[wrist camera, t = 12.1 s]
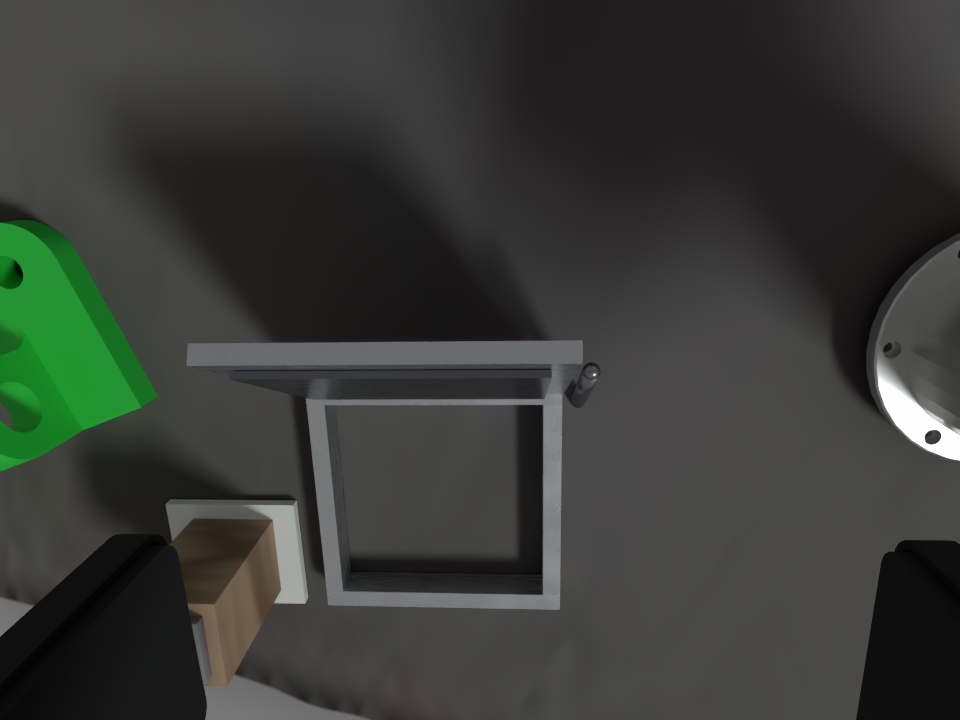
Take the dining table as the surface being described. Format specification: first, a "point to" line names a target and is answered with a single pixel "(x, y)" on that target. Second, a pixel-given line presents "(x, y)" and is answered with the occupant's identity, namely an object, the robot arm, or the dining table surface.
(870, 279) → the dining table surface
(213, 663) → the block
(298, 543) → the mat
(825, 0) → the dining table surface
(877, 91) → the dining table surface
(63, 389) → the mechanical part
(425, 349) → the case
